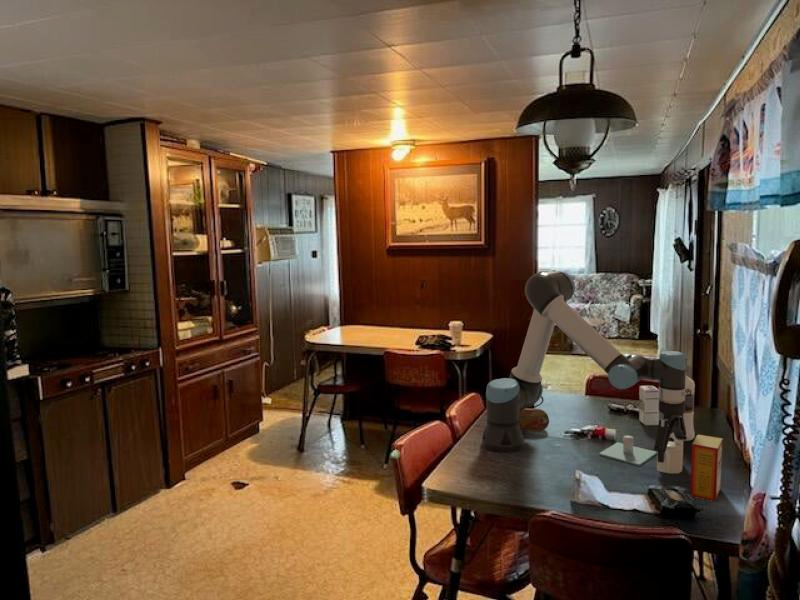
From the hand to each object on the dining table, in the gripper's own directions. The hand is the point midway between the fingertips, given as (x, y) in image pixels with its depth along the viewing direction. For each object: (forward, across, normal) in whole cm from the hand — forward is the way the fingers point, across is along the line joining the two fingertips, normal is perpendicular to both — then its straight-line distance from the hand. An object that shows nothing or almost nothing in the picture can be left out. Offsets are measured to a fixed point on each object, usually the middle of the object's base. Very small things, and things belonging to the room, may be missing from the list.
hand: (670, 464), depth 187 cm
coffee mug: (+1, +18, +65) cm, 68 cm away
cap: (+1, 0, 0) cm, 1 cm away
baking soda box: (+2, -10, -14) cm, 17 cm away
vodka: (+2, +31, +8) cm, 32 cm away
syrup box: (+2, +39, +23) cm, 45 cm away
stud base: (+1, +3, +15) cm, 15 cm away
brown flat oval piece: (+1, +2, +54) cm, 54 cm away
